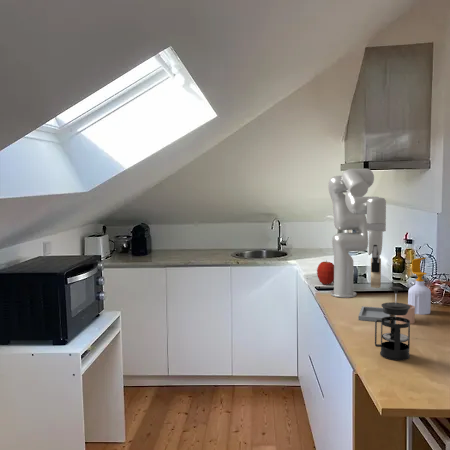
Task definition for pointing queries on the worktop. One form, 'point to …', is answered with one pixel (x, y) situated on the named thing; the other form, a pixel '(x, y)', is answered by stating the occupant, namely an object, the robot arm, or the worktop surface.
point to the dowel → (376, 277)
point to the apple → (325, 272)
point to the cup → (408, 315)
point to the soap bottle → (419, 291)
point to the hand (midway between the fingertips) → (375, 270)
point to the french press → (394, 331)
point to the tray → (372, 314)
